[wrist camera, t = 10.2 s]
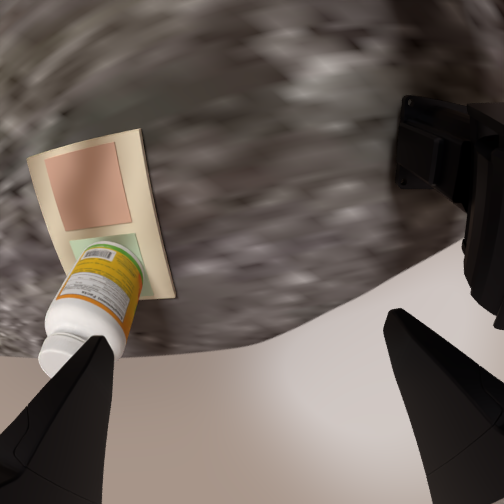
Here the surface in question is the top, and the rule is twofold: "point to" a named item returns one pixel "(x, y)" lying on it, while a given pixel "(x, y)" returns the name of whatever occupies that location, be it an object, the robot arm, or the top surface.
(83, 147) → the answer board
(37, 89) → the top surface
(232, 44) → the top surface
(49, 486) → the robot arm
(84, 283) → the supplement bottle
